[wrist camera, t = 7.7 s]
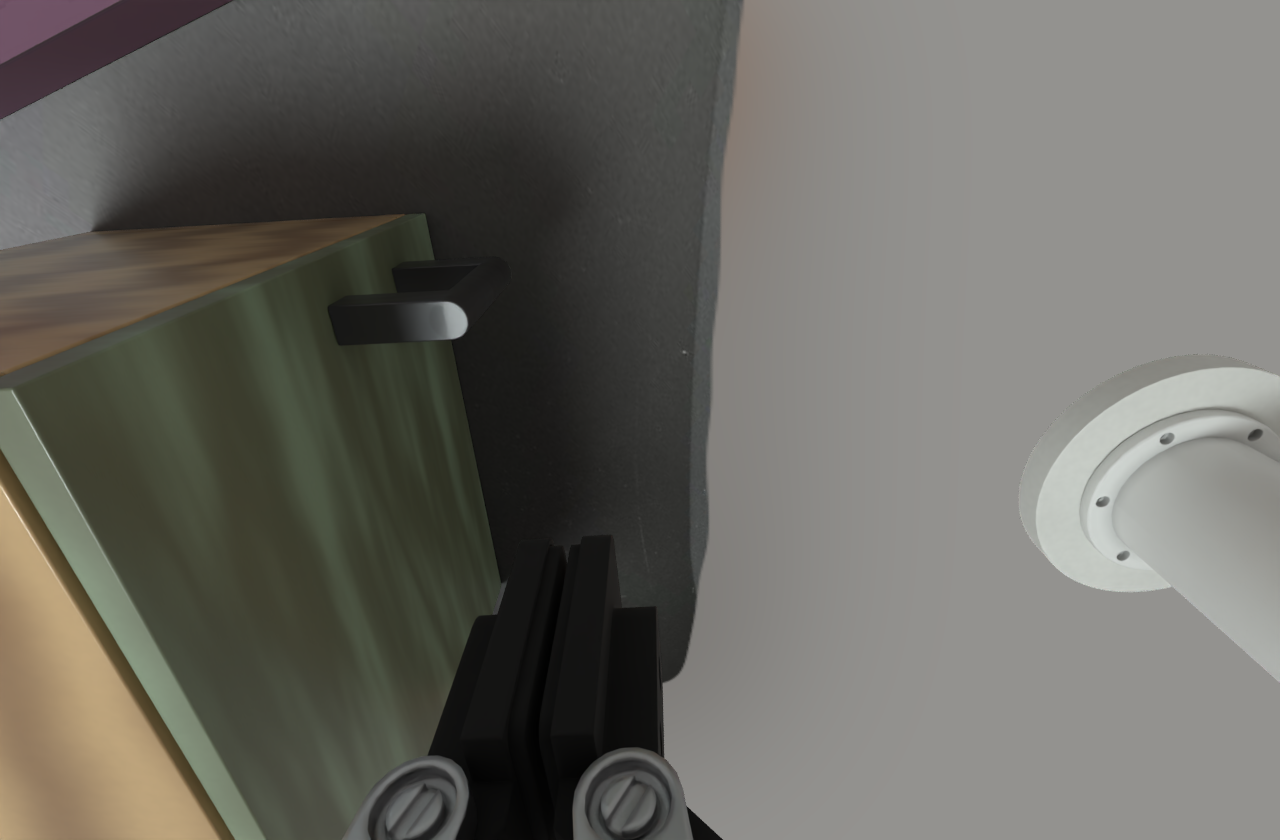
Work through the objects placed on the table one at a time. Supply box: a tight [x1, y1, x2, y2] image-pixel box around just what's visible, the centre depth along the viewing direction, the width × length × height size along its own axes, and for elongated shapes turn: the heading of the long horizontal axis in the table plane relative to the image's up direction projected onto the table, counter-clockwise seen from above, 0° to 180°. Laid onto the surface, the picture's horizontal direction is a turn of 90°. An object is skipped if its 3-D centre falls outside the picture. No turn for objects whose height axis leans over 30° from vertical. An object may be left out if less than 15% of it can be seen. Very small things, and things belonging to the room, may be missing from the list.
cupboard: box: [0, 214, 405, 840], centre depth 29 cm, size 18×26×24 cm
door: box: [0, 213, 512, 840], centre depth 28 cm, size 6×26×24 cm, turn 3°
